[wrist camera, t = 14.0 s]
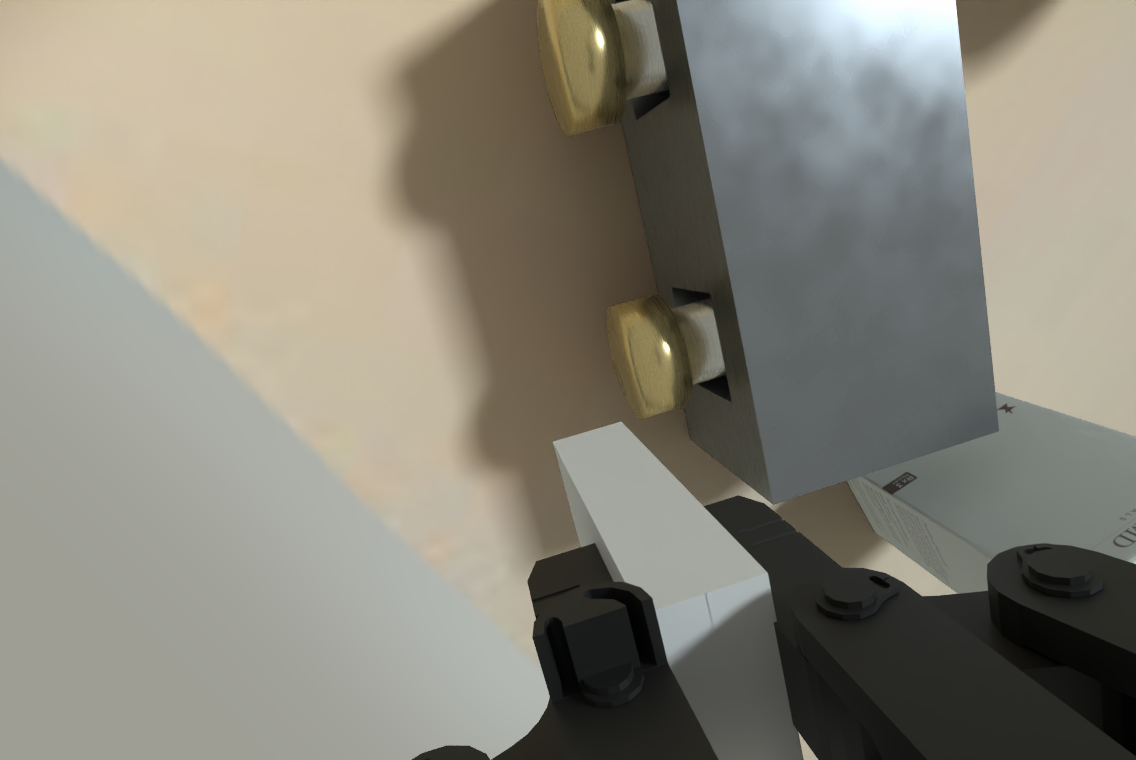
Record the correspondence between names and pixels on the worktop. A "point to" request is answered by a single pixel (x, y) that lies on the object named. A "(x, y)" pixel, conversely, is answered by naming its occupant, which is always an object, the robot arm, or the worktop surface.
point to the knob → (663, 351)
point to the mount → (819, 231)
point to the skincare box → (1008, 494)
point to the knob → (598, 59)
